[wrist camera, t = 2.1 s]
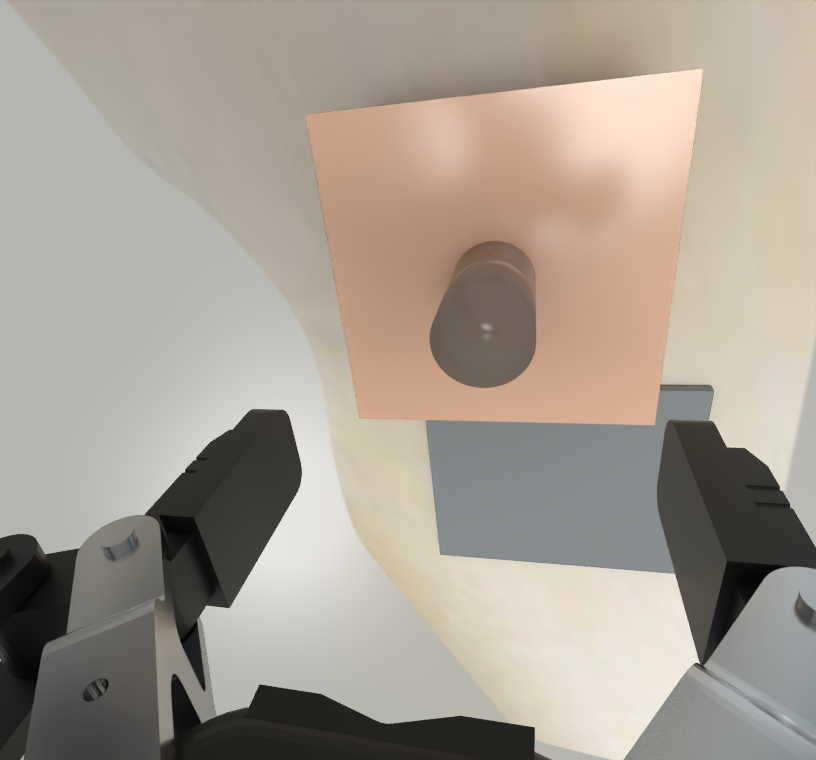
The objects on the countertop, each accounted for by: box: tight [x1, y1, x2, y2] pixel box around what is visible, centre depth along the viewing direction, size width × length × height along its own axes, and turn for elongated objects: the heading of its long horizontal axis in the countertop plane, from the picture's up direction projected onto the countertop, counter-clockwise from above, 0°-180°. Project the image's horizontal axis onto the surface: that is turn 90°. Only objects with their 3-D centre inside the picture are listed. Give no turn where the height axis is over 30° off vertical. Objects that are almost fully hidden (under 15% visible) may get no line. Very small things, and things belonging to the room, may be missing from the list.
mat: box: [426, 385, 714, 574], centre depth 34 cm, size 16×14×1 cm
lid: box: [306, 69, 703, 425], centre depth 19 cm, size 13×13×6 cm
